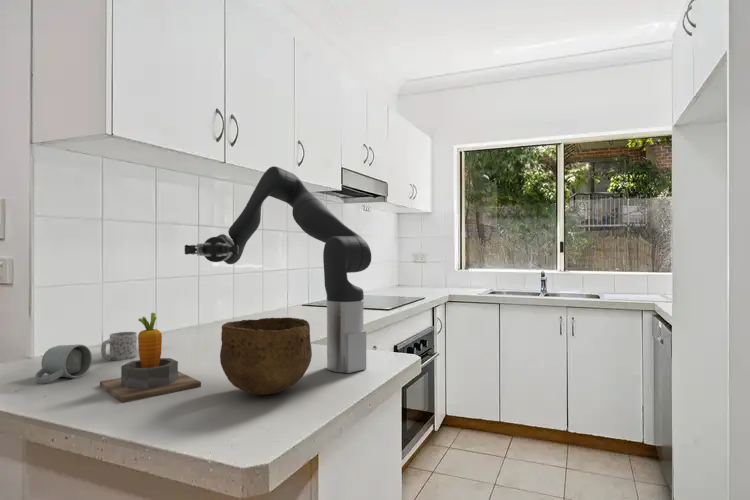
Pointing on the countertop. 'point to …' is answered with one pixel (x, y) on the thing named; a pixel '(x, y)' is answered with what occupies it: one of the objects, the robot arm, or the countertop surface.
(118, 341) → the mug
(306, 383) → the countertop surface
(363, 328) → the robot arm
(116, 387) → the ring holder
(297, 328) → the bowl
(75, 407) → the countertop surface
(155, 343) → the carrot
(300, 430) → the countertop surface
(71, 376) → the ceramic mug
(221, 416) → the countertop surface
